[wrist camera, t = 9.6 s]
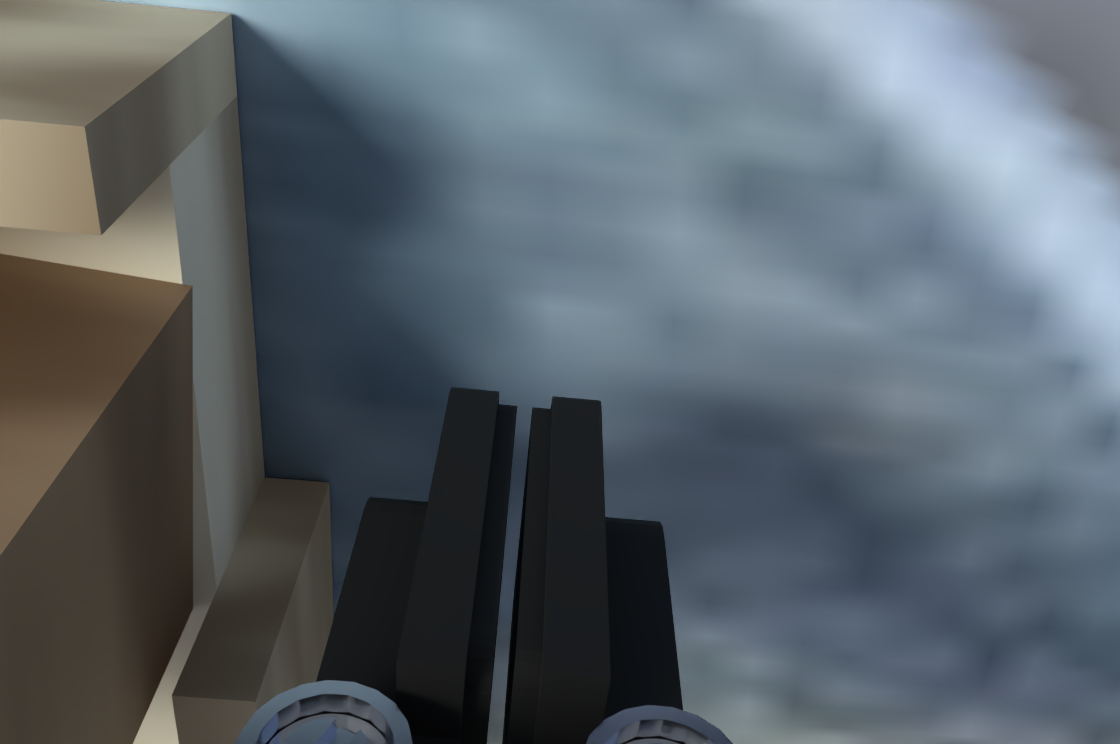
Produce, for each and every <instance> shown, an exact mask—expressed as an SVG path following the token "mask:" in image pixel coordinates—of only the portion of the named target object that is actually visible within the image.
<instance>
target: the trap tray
mask: <svg viewBox="0 0 1120 744" xmlns="http://www.w3.org/2000/svg"><path fill="white" fill-rule="evenodd" d="M0 254H6V255H12V256H18V257H24V258H30V259H36V260H42V261H48V262H54V263H60V264H66V265H72V266H77V267H83V268H89V269H95V270H101V271H107V272H113V273H119V274H125V275H131V276H137V277H143V278H149V279H155V280H161V281H167V282H173V283H178V284H184V285H190V286H193V610H192V612H191V614H190V617H189V619H188V621H187V623H186V626H185V628H184V630H183V632H182V635H181V637H180V639H179V641H178V643H177V646H176V648H175V650H174V652H173V655H172V657H171V659H170V661H169V664H168V666H167V668H166V670H165V673H164V675H163V677H162V679H161V682H160V684H159V686H158V688H157V691H156V693H155V695H154V697H153V700H152V702H151V704H150V706H149V709H148V711H147V713H146V715H145V718H144V720H143V722H142V724H141V726H140V729H139V731H138V733H137V735H136V738H135V740H134V742H133V744H234V743H235V741H236V740H237V738H238V736H239V734H240V732H241V730H242V729H243V728H244V726H245V725H246V724H247V722H248V721H249V720H250V718H251V717H252V716H253V714H254V713H255V712H256V711H257V710H258V709H259V708H261V707H262V706H263V705H264V704H266V703H267V702H268V701H270V700H271V699H272V698H274V697H275V696H276V695H278V694H280V693H283V692H285V691H287V690H290V689H292V688H295V687H297V686H299V685H302V684H307V683H313V682H316V680H317V676H318V673H319V669H320V666H321V662H322V658H323V655H324V651H325V648H326V644H327V641H328V637H329V633H330V630H331V626H332V623H333V619H334V610H333V578H332V547H331V515H330V484H329V483H328V482H316V481H304V480H292V479H280V478H267V477H265V471H264V458H263V444H262V430H261V416H260V403H259V389H258V375H257V361H256V347H255V334H254V320H253V306H252V292H251V279H250V265H249V251H248V237H247V223H246V210H245V196H244V182H243V168H242V155H241V141H240V127H239V113H238V99H237V86H236V72H235V58H234V44H233V31H232V17H231V13H224V12H213V11H203V10H193V9H183V8H172V7H162V6H152V5H141V4H131V3H121V2H111V1H100V0H0Z"/></svg>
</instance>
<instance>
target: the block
mask: <svg viewBox="0 0 1120 744" xmlns="http://www.w3.org/2000/svg"><path fill="white" fill-rule="evenodd" d="M192 610H193V286H190V285H184V284H178V283H173V282H167V281H161V280H155V279H149V278H143V277H137V276H131V275H125V274H119V273H113V272H107V271H101V270H95V269H89V268H83V267H77V266H72V265H66V264H60V263H54V262H48V261H42V260H36V259H30V258H24V257H18V256H12V255H6V254H0V744H133V742H134V740H135V738H136V735H137V733H138V731H139V729H140V726H141V724H142V722H143V720H144V718H145V715H146V713H147V711H148V709H149V706H150V704H151V702H152V700H153V697H154V695H155V693H156V691H157V688H158V686H159V684H160V682H161V679H162V677H163V675H164V673H165V670H166V668H167V666H168V664H169V661H170V659H171V657H172V655H173V652H174V650H175V648H176V646H177V643H178V641H179V639H180V637H181V635H182V632H183V630H184V628H185V626H186V623H187V621H188V619H189V617H190V614H191V612H192Z"/></svg>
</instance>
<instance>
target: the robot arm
mask: <svg viewBox="0 0 1120 744" xmlns="http://www.w3.org/2000/svg"><path fill="white" fill-rule="evenodd" d="M516 413H517V406H511V405H499V392H498V391H487V390H476V389H465V388H453V387H452V388H451V390H450V394H449V399H448V404H447V409H446V414H445V419H444V424H443V429H442V434H441V439H440V444H439V449H438V454H437V459H436V464H435V469H434V474H433V479H432V484H431V490H430V495H429V500H428V502H421V501H410V500H398V499H386V498H375V497H370V498H369V499H368V501H367V503H366V506H365V509H364V512H363V515H362V519H361V523H360V526H359V530H358V533H357V537H356V540H355V544H354V548H353V551H352V555H351V558H350V562H349V565H348V569H347V573H346V576H345V580H344V583H343V587H342V591H341V594H340V598H339V601H338V605H337V608H336V612H335V616H334V619H333V623H332V626H331V630H330V633H329V637H328V641H327V644H326V648H325V651H324V655H323V658H322V662H321V666H320V669H319V673H318V676H317V680H316V682H313V683H307V684H302V685H299V686H297V687H295V688H292V689H290V690H287V691H285V692H283V693H280V694H278V695H276V696H275V697H274V698H272V699H271V700H270V701H268V702H267V703H266V704H264V705H263V706H262V707H261V708H259V709H258V710H257V711H256V712H255V713H254V714H253V716H252V717H251V718H250V720H249V721H248V722H247V724H246V725H245V726H244V728H243V729H242V730H241V732H240V734H239V736H238V738H237V740H236V741H235V743H234V744H487V733H488V722H489V711H490V700H491V689H492V679H493V668H494V657H495V646H496V635H497V624H498V613H499V602H500V591H501V580H502V569H503V558H504V547H505V536H506V524H507V513H508V502H509V491H510V480H511V469H512V458H513V447H514V435H515V424H516ZM502 744H733V743H732V742H731V741H730V740H729V739H728V738H727V737H726V736H725V734H724V733H723V732H722V731H721V730H720V729H718V728H717V727H715V726H714V725H712V724H710V723H709V722H707V721H706V720H704V719H703V718H701V717H699V716H698V715H695V714H692V713H689V712H686V711H683V706H682V697H681V687H680V678H679V669H678V660H677V651H676V641H675V632H674V623H673V614H672V604H671V595H670V586H669V577H668V568H667V558H666V549H665V540H664V533H663V527H662V525H661V523H660V522H656V521H644V520H632V519H620V518H609V517H605V498H604V469H603V440H602V412H601V401H598V400H587V399H576V398H565V397H554V396H553V398H552V404H551V409H544V408H533V409H532V418H531V428H530V438H529V448H528V458H527V468H526V478H525V488H524V498H523V508H522V518H521V528H520V538H519V549H518V559H517V569H516V579H515V589H514V600H513V612H512V625H511V638H510V651H509V664H508V677H507V691H506V704H505V717H504V730H503V743H502Z"/></svg>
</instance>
